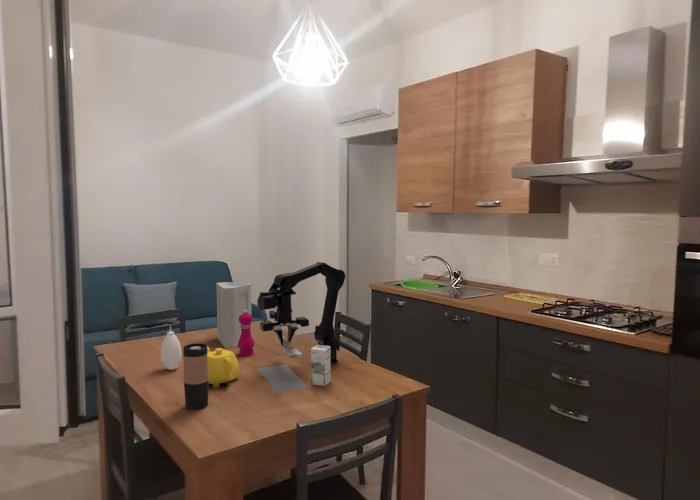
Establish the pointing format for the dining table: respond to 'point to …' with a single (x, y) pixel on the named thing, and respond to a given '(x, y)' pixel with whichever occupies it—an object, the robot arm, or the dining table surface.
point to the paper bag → (231, 310)
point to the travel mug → (195, 376)
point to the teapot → (221, 366)
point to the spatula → (288, 348)
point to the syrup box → (320, 365)
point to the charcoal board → (281, 378)
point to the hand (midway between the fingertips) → (285, 344)
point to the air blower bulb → (171, 351)
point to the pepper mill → (245, 335)
